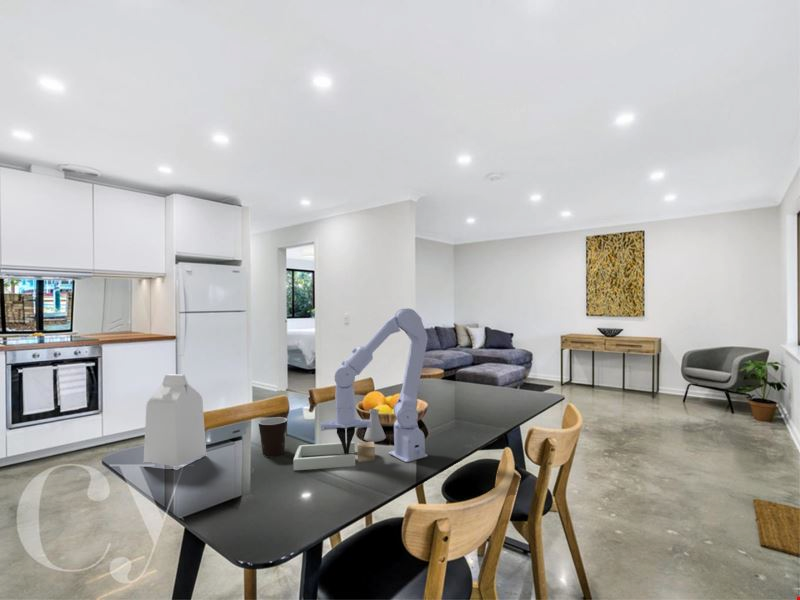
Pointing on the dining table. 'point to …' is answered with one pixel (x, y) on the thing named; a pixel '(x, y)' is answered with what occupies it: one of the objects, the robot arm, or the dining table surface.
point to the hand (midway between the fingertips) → (346, 453)
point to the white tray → (323, 460)
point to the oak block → (366, 451)
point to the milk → (174, 423)
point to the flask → (374, 428)
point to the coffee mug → (273, 435)
